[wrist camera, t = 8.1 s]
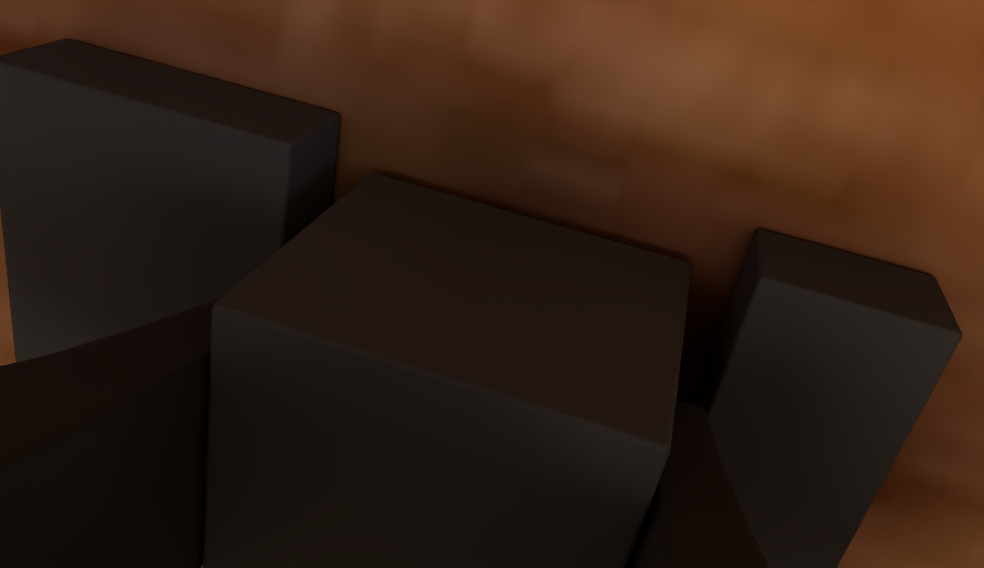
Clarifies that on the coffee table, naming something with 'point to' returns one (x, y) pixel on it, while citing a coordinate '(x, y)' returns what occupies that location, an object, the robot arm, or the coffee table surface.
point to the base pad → (307, 194)
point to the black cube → (440, 391)
